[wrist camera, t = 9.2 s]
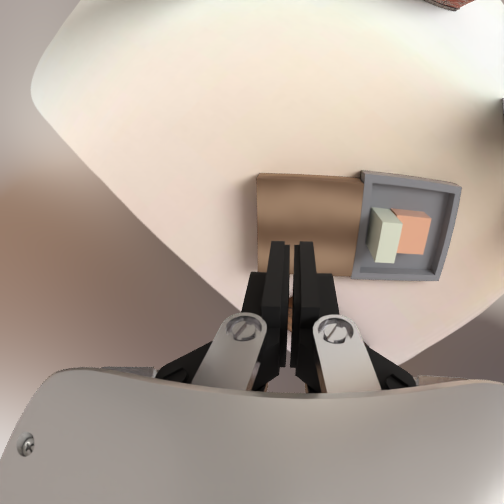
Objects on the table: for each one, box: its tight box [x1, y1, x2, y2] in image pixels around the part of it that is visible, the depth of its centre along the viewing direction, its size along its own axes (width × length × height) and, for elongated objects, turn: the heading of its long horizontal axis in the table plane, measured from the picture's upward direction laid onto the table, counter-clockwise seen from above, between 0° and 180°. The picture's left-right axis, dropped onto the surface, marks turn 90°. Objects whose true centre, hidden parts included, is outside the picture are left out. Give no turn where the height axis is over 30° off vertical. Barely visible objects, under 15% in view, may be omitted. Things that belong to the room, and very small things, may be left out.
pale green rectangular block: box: [366, 207, 403, 263], centre depth 31 cm, size 5×5×2 cm
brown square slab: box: [256, 173, 364, 276], centre depth 33 cm, size 12×12×3 cm
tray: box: [350, 170, 462, 281], centre depth 32 cm, size 14×14×2 cm
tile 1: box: [391, 208, 431, 255], centre depth 31 cm, size 5×5×2 cm
